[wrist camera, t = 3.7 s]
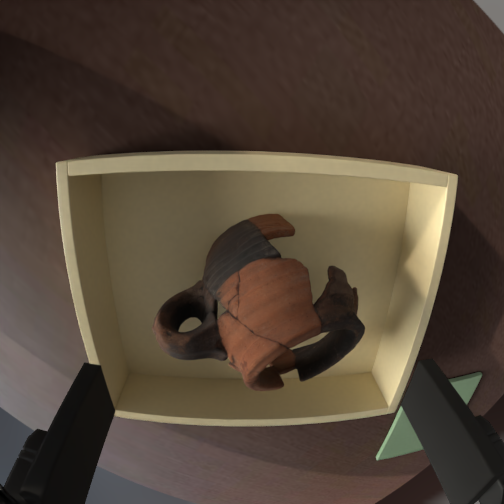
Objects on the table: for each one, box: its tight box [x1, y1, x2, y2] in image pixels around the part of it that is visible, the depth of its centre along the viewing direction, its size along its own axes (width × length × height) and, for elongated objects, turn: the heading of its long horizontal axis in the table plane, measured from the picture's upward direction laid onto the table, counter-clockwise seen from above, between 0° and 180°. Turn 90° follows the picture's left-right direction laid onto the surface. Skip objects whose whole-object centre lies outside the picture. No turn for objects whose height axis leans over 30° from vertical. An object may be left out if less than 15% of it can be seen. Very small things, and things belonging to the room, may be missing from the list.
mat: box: [376, 372, 482, 460], centre depth 28 cm, size 10×12×1 cm
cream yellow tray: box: [56, 151, 458, 426], centre depth 19 cm, size 22×18×5 cm
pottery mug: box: [152, 214, 365, 391], centre depth 19 cm, size 12×10×8 cm
